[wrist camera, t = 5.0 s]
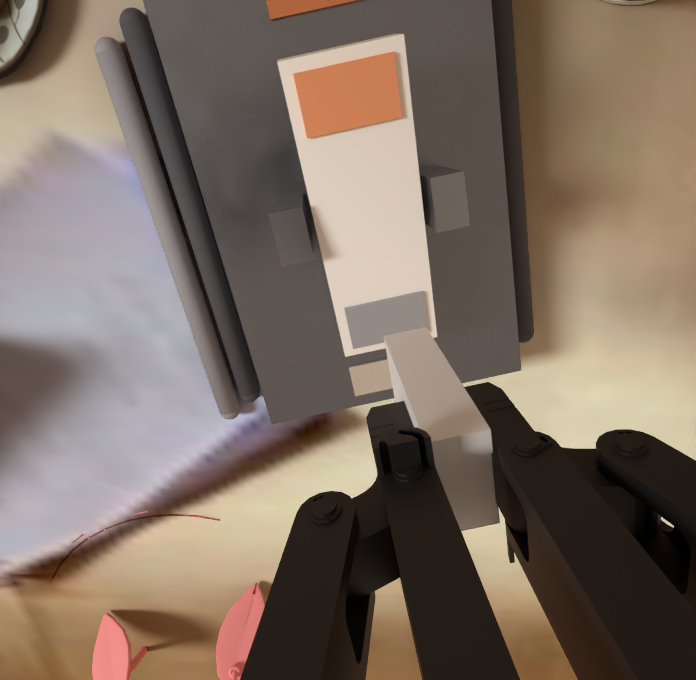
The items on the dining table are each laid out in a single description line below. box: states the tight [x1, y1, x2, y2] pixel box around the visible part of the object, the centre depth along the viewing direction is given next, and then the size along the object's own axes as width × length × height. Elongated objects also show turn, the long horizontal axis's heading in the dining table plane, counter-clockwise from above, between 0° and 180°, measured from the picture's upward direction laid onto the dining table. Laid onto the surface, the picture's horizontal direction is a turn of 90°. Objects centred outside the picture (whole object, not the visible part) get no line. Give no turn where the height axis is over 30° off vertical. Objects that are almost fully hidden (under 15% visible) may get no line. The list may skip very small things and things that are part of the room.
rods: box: [95, 0, 534, 419], centre depth 31 cm, size 24×22×1 cm
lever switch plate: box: [143, 0, 521, 424], centre depth 27 cm, size 24×16×9 cm, turn 12°
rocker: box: [277, 34, 437, 357], centre depth 24 cm, size 14×5×2 cm, turn 12°
